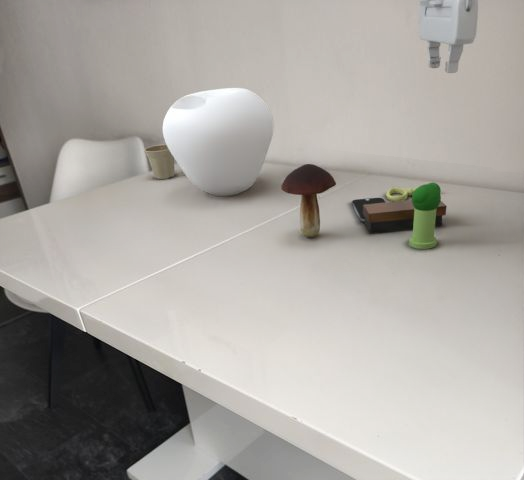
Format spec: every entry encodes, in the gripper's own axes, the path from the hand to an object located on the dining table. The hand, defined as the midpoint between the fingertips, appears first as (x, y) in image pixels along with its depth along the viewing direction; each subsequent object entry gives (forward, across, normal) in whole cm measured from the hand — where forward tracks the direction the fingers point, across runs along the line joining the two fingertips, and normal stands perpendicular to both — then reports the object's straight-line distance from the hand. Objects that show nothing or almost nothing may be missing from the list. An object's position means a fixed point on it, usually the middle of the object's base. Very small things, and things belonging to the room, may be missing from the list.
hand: (442, 70), depth 100 cm
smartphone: (+29, +10, +10) cm, 32 cm away
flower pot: (+29, +60, +63) cm, 92 cm away
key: (+29, +18, -1) cm, 34 cm away
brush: (+29, -1, +6) cm, 30 cm away
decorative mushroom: (+29, -2, +26) cm, 39 cm away
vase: (+29, +38, +44) cm, 65 cm away
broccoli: (+29, -12, +5) cm, 32 cm away
